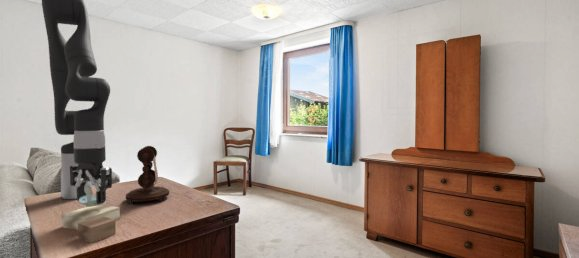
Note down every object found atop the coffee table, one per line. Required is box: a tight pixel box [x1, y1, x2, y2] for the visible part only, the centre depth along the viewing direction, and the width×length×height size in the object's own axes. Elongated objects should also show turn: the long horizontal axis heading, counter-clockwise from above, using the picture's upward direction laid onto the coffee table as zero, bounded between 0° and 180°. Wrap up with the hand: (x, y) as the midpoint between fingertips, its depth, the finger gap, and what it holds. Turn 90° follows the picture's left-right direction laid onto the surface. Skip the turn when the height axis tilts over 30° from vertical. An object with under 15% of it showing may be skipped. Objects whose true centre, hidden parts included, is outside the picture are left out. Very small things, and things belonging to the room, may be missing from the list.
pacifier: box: [78, 185, 107, 207], centre depth 83 cm, size 7×6×6 cm
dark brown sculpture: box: [125, 145, 170, 205], centre depth 106 cm, size 15×15×20 cm
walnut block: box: [77, 216, 116, 243], centre depth 74 cm, size 6×6×4 cm
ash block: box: [61, 204, 121, 231], centre depth 83 cm, size 10×10×4 cm
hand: (91, 201), depth 83 cm, fingers closed on pacifier, 7 cm apart
